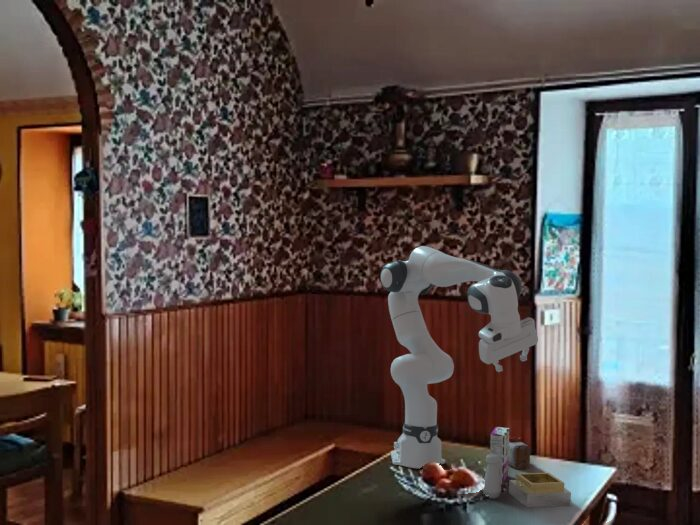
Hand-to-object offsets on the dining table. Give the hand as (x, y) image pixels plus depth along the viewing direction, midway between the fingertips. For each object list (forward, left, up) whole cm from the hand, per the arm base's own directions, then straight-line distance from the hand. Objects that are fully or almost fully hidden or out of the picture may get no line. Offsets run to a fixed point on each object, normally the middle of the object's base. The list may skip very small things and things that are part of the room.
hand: (511, 365), depth 269 cm
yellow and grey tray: (+10, +7, -40) cm, 42 cm away
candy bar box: (-11, +2, -40) cm, 42 cm away
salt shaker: (+6, -7, -40) cm, 41 cm away
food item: (-29, +15, -40) cm, 52 cm away
